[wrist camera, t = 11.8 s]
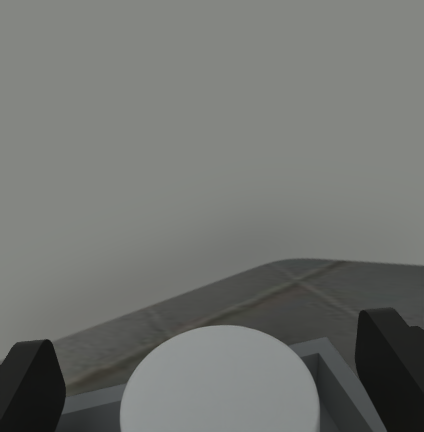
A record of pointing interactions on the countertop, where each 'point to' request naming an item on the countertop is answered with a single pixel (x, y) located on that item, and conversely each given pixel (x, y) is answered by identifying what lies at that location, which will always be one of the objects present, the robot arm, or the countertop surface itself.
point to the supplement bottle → (221, 385)
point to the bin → (308, 351)
